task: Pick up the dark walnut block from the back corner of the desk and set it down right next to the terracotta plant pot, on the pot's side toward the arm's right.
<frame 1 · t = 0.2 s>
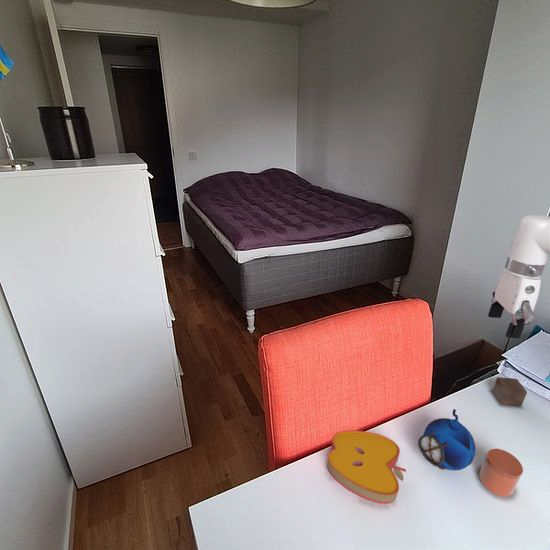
hand: (502, 326, 90), 18 cm above the table, tool pointing down, fingers open, 9 cm apart
terracotta pot: (495, 482, 69), on the table
decorative object: (328, 452, 72), point 2 cm above the table
walnut block: (505, 399, 91), on the table
bomb: (440, 461, 73), on the table
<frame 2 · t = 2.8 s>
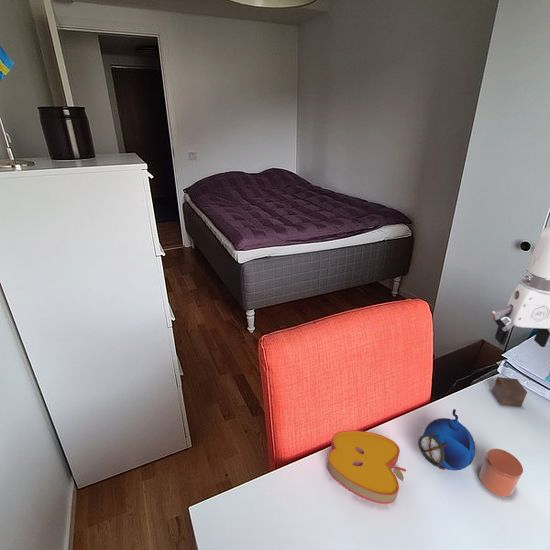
hand: (519, 342, 86), 17 cm above the table, tool pointing down, fingers open, 9 cm apart
nothing on the table moved.
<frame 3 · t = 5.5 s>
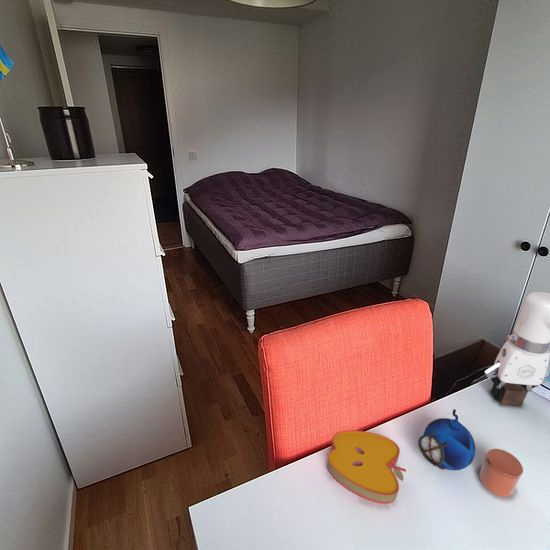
hand: (506, 397, 90), 0 cm above the table, tool pointing down, fingers closed on walnut block, 5 cm apart
walnut block: (505, 399, 91), on the table, touching gripper
everything else where it was.
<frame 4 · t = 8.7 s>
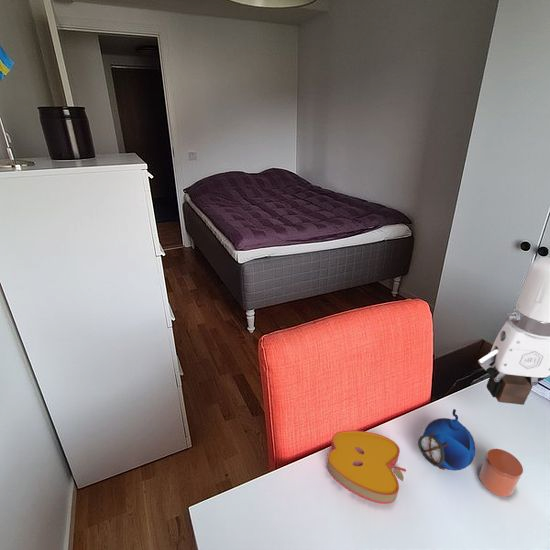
hand: (505, 393, 73), 14 cm above the table, tool pointing down, fingers closed on walnut block, 5 cm apart
walnut block: (505, 394, 73), point 13 cm above the table, touching gripper
everything else where it was.
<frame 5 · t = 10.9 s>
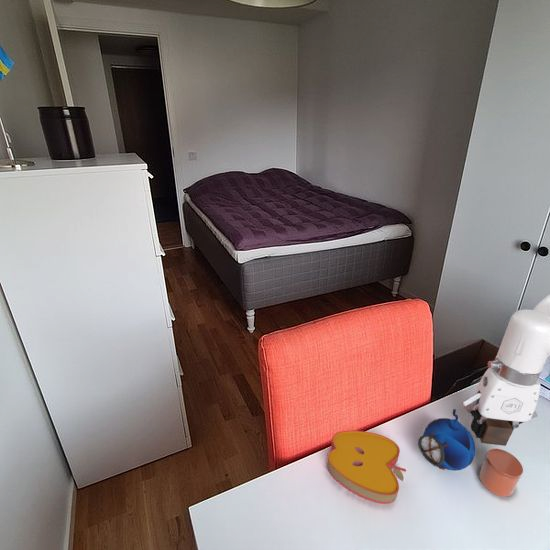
hand: (489, 433, 76), 4 cm above the table, tool pointing down, fingers closed on walnut block, 5 cm apart
walnut block: (488, 435, 76), point 3 cm above the table, touching gripper
everything else where it was.
when the fingers open (0 cm above the table, at t = 12.2 s): walnut block stays where it is, on the table.
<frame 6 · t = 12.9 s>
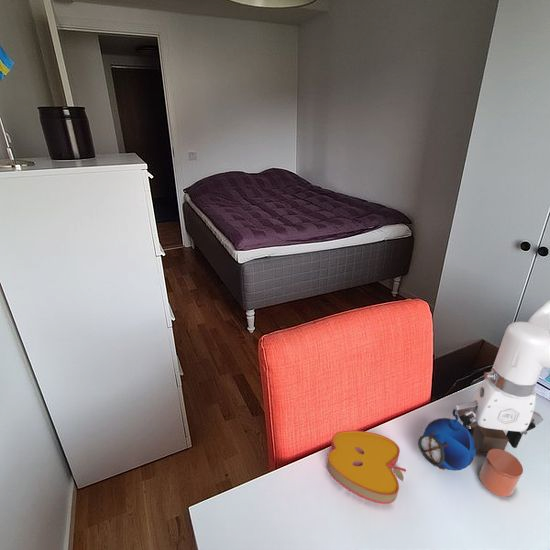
hand: (487, 439, 77), 2 cm above the table, tool pointing down, fingers open, 9 cm apart
walnut block: (484, 445, 77), on the table
everything else where it was.
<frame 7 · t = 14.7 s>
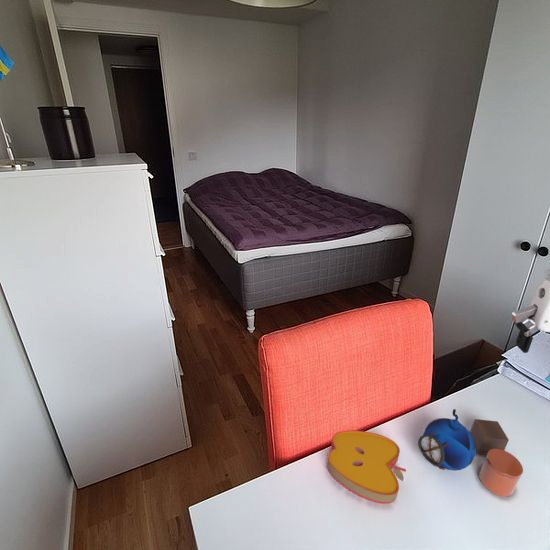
hand: (546, 350, 72), 23 cm above the table, tool pointing down, fingers open, 9 cm apart
nothing on the table moved.
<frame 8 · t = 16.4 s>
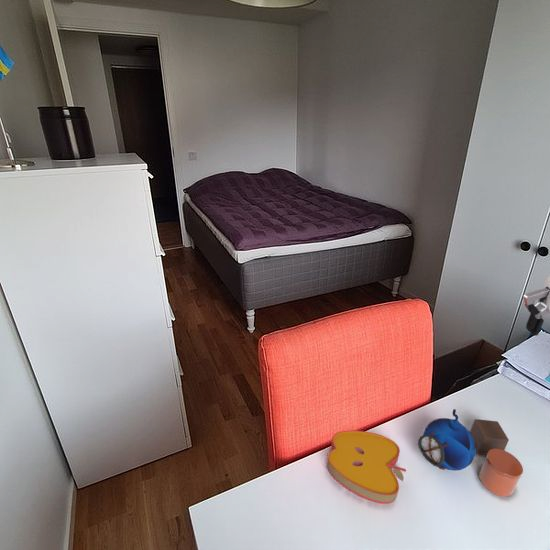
nothing on the table moved.
at the end: walnut block inside the target area on the table beside the terracotta pot (0.2 cm from its centre), on the table; walnut block tilted 0°; the gripper is holding nothing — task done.
